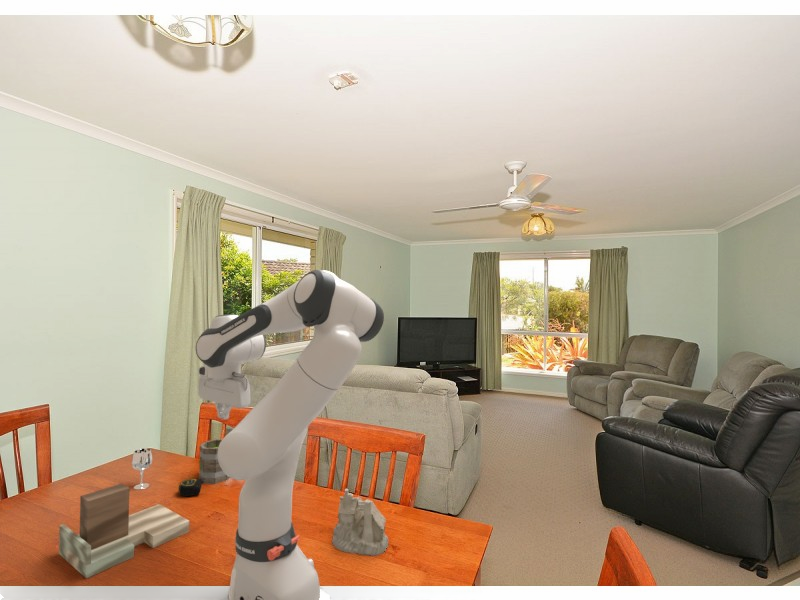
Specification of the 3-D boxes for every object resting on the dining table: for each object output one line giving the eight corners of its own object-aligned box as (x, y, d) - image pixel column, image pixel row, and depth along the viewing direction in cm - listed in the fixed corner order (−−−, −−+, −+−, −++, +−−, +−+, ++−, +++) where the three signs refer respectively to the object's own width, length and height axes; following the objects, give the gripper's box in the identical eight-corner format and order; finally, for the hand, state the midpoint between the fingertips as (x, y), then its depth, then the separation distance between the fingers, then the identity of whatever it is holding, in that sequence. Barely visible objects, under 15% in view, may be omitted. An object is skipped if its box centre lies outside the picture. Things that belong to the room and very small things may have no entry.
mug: (231, 481, 148) (232, 447, 148) (197, 486, 144) (198, 450, 144) (231, 465, 162) (232, 433, 162) (200, 468, 158) (201, 436, 158)
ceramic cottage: (379, 559, 105) (380, 497, 106) (320, 548, 111) (322, 489, 112) (400, 532, 120) (400, 477, 121) (347, 523, 125) (348, 470, 126)
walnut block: (128, 535, 108) (129, 487, 108) (87, 551, 101) (88, 501, 101) (120, 529, 111) (121, 483, 111) (79, 545, 103) (80, 496, 103)
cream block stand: (189, 531, 116) (189, 506, 116) (86, 578, 96) (87, 547, 96) (158, 514, 125) (159, 490, 125) (58, 553, 105) (59, 525, 105)
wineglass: (127, 488, 141) (128, 452, 141) (142, 481, 146) (143, 446, 146) (140, 491, 139) (141, 454, 139) (155, 484, 144) (156, 449, 144)
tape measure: (200, 497, 136) (200, 485, 136) (176, 499, 134) (176, 487, 134) (203, 487, 143) (203, 476, 143) (180, 490, 141) (180, 478, 141)
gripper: (256, 373, 120) (255, 422, 120) (214, 365, 131) (212, 410, 131) (237, 376, 114) (236, 427, 114) (194, 367, 126) (193, 414, 126)
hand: (223, 418), depth 123 cm, fingers closed
